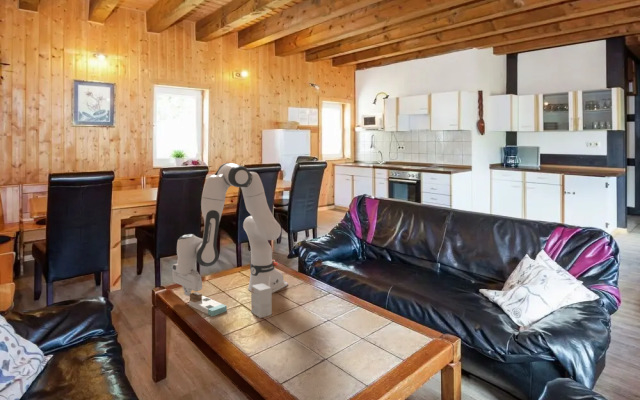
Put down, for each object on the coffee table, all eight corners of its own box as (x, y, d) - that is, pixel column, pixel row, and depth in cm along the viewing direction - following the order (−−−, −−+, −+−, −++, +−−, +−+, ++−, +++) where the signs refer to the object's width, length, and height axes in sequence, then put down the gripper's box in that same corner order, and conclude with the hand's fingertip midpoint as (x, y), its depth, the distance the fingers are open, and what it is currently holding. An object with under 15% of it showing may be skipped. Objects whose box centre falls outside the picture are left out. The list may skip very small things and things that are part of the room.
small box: (272, 314, 189) (272, 287, 187) (260, 318, 185) (260, 290, 183) (262, 309, 195) (262, 282, 193) (250, 312, 191) (250, 285, 189)
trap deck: (203, 300, 203) (203, 295, 203) (226, 310, 192) (226, 305, 191) (189, 305, 197) (189, 300, 197) (212, 316, 186) (212, 311, 185)
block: (197, 298, 200) (196, 291, 199) (201, 300, 197) (201, 293, 197) (189, 300, 197) (189, 294, 196) (194, 302, 194) (194, 296, 194)
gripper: (205, 270, 195) (205, 298, 197) (181, 262, 208) (181, 288, 210) (193, 274, 190) (194, 302, 192) (169, 264, 203) (170, 291, 205)
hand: (187, 295), depth 201 cm, fingers closed
